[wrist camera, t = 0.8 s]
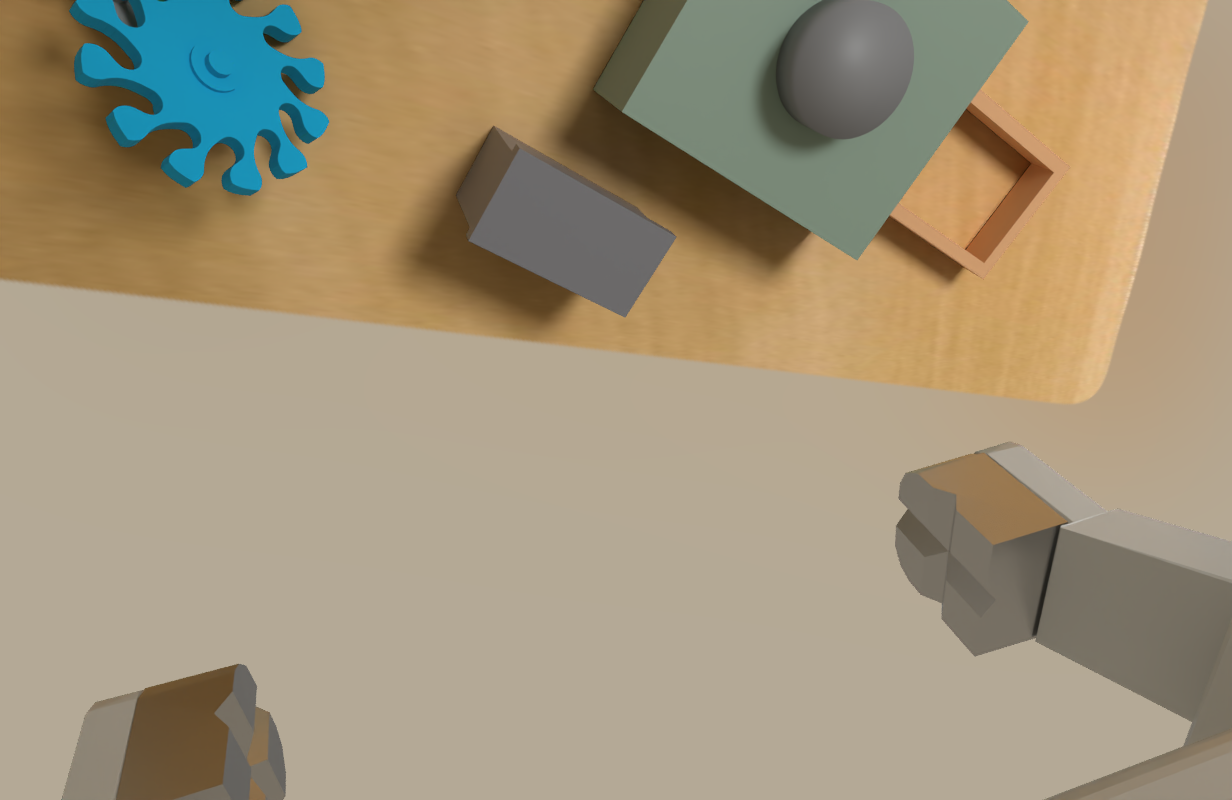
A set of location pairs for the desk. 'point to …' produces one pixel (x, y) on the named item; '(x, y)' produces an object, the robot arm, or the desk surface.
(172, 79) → the gear
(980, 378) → the desk surface
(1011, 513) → the robot arm
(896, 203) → the green panel with knob
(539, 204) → the grey stepped block
